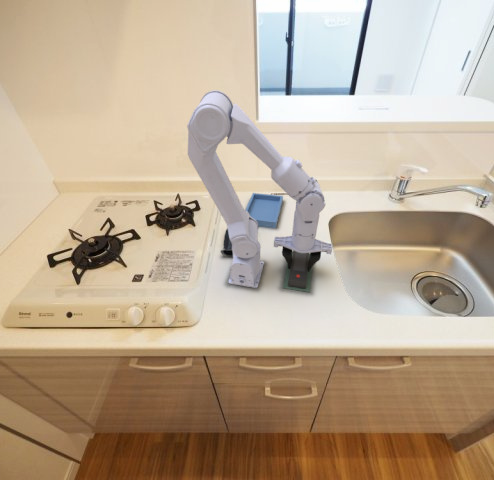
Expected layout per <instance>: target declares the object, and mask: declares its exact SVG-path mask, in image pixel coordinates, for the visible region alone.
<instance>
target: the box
mask: <svg viewBox="0 0 494 480" xmlns="http://www.w3.org/2000/svg"><path fill="white" fill-rule="evenodd" d="M283 201H284V196H283V195H277V194H266V193H257V192H252V194H251V196H250V199H249V201H248V204H247V206H246V208H245V209H244V210H245V211H248V212H249V214H250V216H251V217H252V218H254V219H255V220H256V221H257V223H258V227H263V228H272V229H276V228H277V225H278V221H279V217H280V214H281V210H282V206H283Z"/></svg>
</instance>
